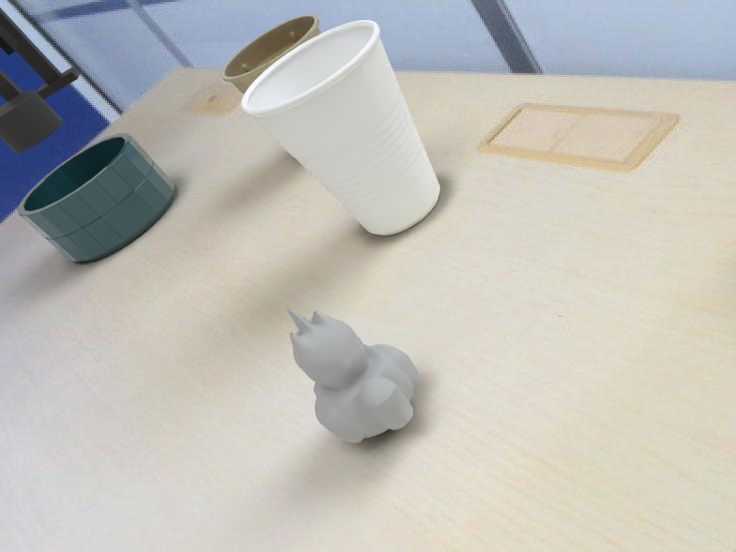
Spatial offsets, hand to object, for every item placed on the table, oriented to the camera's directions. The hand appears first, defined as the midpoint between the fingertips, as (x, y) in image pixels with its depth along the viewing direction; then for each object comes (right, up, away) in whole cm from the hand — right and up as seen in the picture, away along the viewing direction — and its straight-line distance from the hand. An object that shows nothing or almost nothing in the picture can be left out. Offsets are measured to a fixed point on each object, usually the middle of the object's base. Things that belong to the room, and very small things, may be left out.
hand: (3, 56), depth 70 cm
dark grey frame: (+2, -4, +3) cm, 5 cm away
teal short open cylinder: (+9, -14, +5) cm, 17 cm away
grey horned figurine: (+45, -36, -31) cm, 65 cm away
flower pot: (+32, -9, -2) cm, 33 cm away
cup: (+42, -20, -16) cm, 50 cm away
